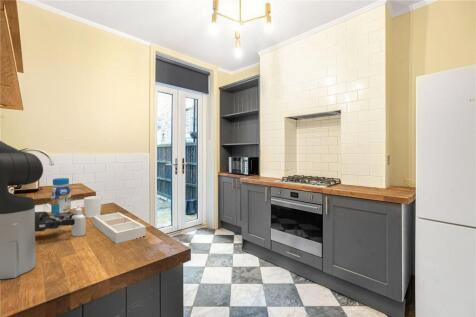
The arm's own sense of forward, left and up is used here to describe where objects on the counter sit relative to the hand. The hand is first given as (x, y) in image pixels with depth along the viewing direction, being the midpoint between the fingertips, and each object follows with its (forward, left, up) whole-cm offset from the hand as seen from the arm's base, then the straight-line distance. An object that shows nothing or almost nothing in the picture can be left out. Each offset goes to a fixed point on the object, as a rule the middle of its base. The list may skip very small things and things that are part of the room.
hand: (78, 218), depth 92 cm
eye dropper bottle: (0, 0, -7) cm, 7 cm away
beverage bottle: (+34, +20, -7) cm, 40 cm away
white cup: (+30, +4, -7) cm, 31 cm away
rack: (+2, -14, -7) cm, 15 cm away
